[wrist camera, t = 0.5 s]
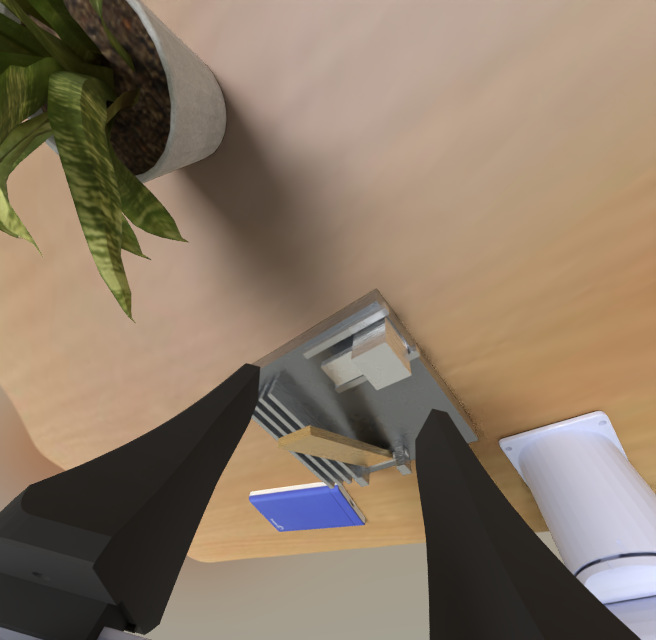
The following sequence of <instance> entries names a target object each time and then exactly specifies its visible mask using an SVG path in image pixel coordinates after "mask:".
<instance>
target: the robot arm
mask: <svg viewBox="0 0 656 640" xmlns="http://www.w3.org/2000/svg"><path fill="white" fill-rule="evenodd" d="M259 380H260V366H255V365H251V364H247V363H246V364H244V365H243V366H242V367H241V368H239V369H238V370H237V371H236V372H235V373H233V374H232V375H231V376H230V377H229V378H227V379H226V380H225V381H224V382H222V383H221V384H220V385H219V386H217V387H216V388H215V389H213V390H212V391H211V392H210V393H208V394H207V395H206V396H204V397H203V398H202V399H200V400H199V401H197V402H196V403H194V404H193V405H191V406H190V407H189V408H187V409H186V410H184V411H183V412H181V413H180V414H178V415H177V416H175V417H173V418H172V419H170V420H169V421H167V422H165V423H164V424H162V425H160V426H159V427H157V428H155V429H153V430H151V431H150V432H148V433H146V434H144V435H142V436H140V437H139V438H137V439H135V440H133V441H131V442H129V443H127V444H125V445H123V446H121V447H119V448H117V449H115V450H113V451H110V452H108V453H106V454H104V455H102V456H100V457H98V458H95V459H93V460H91V461H89V462H86V463H84V464H82V465H80V466H77V467H75V468H72V469H70V470H67V471H65V472H62V473H60V474H57V475H55V476H52V477H50V478H47V479H44V480H42V481H40V482H37V483H34V484H31V485H30V486H28V487H27V488H26V489H25V490H24V491H23V492H21V494H19V495H18V496H17V497H16V498H15V499H14V500H13V501H11V502H10V503H9V504H8V505H7V506H6V507H5V508H4V509H3V510H2V511H1V512H0V640H150V639H147V638H143V637H140V636H136V635H133V634H129V633H126V632H123V631H124V630H125V631H129V632H132V633H135V632H136V633H140V634H143V635H145V634H147V633H148V632H150V631H151V630H153V629H154V628H155V627H156V626H158V625H159V624H160V621H161V619H162V616H163V613H164V611H165V608H166V605H167V603H168V600H169V598H170V595H171V593H172V590H173V587H174V585H175V582H176V580H177V577H178V575H179V572H180V569H181V567H182V565H183V562H184V560H185V557H186V555H187V552H188V550H189V547H190V545H191V542H192V540H193V538H194V535H195V533H196V530H197V528H198V526H199V523H200V521H201V519H202V516H203V514H204V511H205V509H206V507H207V505H208V502H209V500H210V498H211V495H212V493H213V491H214V489H215V486H216V484H217V482H218V480H219V478H220V476H221V474H222V472H223V470H224V469H225V467H226V465H227V463H228V461H229V459H230V458H231V456H232V454H233V452H234V450H235V448H236V447H237V445H238V443H239V441H240V439H241V437H242V436H243V434H244V432H245V430H246V428H247V426H248V424H249V422H250V420H251V417H252V415H253V413H254V410H255V408H256V405H257V402H258V395H259ZM499 445H500V447H501V449H502V450H503V451H504V453H505V454H506V456H507V457H508V459H509V460H510V461H511V463H512V464H513V466H514V467H515V469H516V470H517V471H518V473H519V474H520V476H521V477H522V478H523V480H524V481H525V483H526V484H527V486H528V487H529V488H530V490H531V492H532V494H533V496H534V499H535V501H536V503H537V505H538V507H539V509H540V512H541V514H542V516H543V518H544V520H545V522H546V525H547V527H548V529H549V531H550V533H551V535H552V538H553V540H554V542H555V544H556V546H557V548H558V550H559V553H560V555H561V557H562V559H563V561H564V564H565V565H564V564H563V563H562V562H561V561H560V560H559V559H558V558H557V557H556V556H555V555H554V554H553V553H552V552H551V551H550V549H549V548H548V547H547V546H546V545H545V544H544V543H543V542H542V541H541V540H540V538H539V537H538V536H537V535H536V534H535V533H534V532H533V530H532V529H531V528H530V527H529V526H528V525H527V523H526V522H525V521H524V520H523V519H522V517H521V516H520V515H519V514H518V513H517V511H516V510H515V509H514V508H513V507H512V505H511V504H510V503H509V501H508V500H507V499H506V498H505V496H504V495H503V494H502V492H501V491H500V490H499V488H498V487H497V486H496V484H495V483H494V482H493V480H492V479H491V478H490V476H489V475H488V473H487V472H486V471H485V469H484V468H483V466H482V465H481V463H480V462H479V460H478V459H477V457H476V456H475V454H474V453H473V451H472V450H471V448H470V447H469V445H468V444H467V442H466V441H465V439H464V438H463V436H462V434H461V433H460V431H459V430H458V428H457V427H456V425H455V423H454V422H453V420H452V419H451V417H450V416H449V414H448V413H447V412H445V411H440V410H436V409H432V410H431V412H430V414H429V415H428V417H427V419H426V421H425V423H424V425H423V427H422V428H421V430H420V432H419V434H418V436H417V438H416V440H415V458H416V471H417V478H418V485H419V492H420V499H421V506H422V512H423V519H424V526H425V535H426V546H427V563H428V585H429V622H430V640H656V494H655V493H654V492H653V490H652V489H651V488H650V487H649V486H648V484H647V483H646V482H645V481H644V479H643V478H642V477H641V476H640V475H639V473H638V472H637V471H636V470H635V469H634V467H633V466H632V465H631V464H630V463H629V460H628V458H627V456H626V454H625V452H624V450H623V448H622V446H621V444H620V441H619V439H618V437H617V435H616V433H615V431H614V429H613V427H612V424H611V422H610V420H609V418H608V416H607V415H606V414H605V413H604V412H602V411H596V412H592V413H589V414H585V415H582V416H578V417H575V418H571V419H568V420H565V421H561V422H558V423H554V424H551V425H547V426H544V427H541V428H537V429H534V430H530V431H527V432H523V433H520V434H517V435H513V436H510V437H506V438H503V439H501V440H499Z"/></svg>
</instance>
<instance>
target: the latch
mask: <svg viewBox="0 0 656 640" xmlns="http://www.w3.org/2000/svg"><path fill="white" fill-rule="evenodd" d="M321 368H322V370H323V371H324V372H325V373H326V374H327V375H328V376H329V377H330V378H331V379H332V381H333V382H334V383H335V384H336V385H337V386H340V385H342V384H344V383H346V382H348V381H350V380H352V379H355V378H357V377H359V376H361V375H364V376H365V377H366V378H367V379H368V380H369V382H370V383H371V384H372V385H373V386H374V388H375V389H376V390H379V389H381V388H384V387H386V386H388V385H390V384H393V383H395V382H397V381H400V380H402V379H404V378H407V377H409V376H411V375H412V374H411V368H410V362H409V356H408V349H407V344H406V343H405V341H404V340H403V339H402V337H401V336H400V335H399V333H398V332H397V331H396V329H395V328H394V326H393V325H392V324H391V322H390V321H389V320H388V318H387V317H386V316H384V317H383V318H381V319H379V320H377V321H375V322H374V323H372V324H370V325H368V326H366V327H365V328H363V329H361V330H359V331H357V332H356V333H354V339H353V346H351V347H349V348H347V349H345V350H344V351H342V352H340V353H338V354H336V355H334V356H332V357H330V358H329V359H327V360H325V361H323V362H322V364H321Z"/></svg>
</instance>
